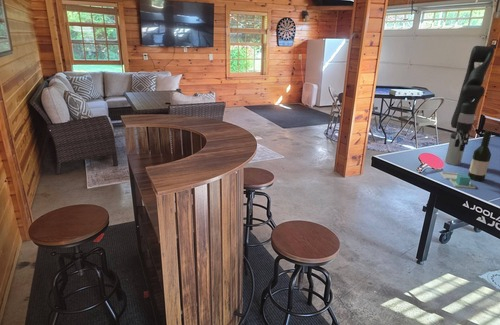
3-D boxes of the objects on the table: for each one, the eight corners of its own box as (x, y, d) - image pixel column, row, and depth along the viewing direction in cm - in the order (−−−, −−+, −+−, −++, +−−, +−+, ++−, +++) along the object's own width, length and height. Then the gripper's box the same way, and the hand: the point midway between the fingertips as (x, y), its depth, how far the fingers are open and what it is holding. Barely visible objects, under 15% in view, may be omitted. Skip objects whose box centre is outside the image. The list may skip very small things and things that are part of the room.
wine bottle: (477, 176, 198) (490, 128, 188) (487, 182, 191) (501, 132, 180) (464, 176, 198) (476, 128, 188) (473, 182, 190) (486, 132, 180)
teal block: (455, 182, 189) (457, 174, 187) (465, 183, 187) (467, 175, 186) (458, 185, 184) (460, 177, 182) (468, 186, 183) (470, 178, 181)
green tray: (449, 180, 192) (449, 178, 191) (468, 182, 189) (469, 180, 189) (454, 187, 182) (455, 185, 182) (474, 189, 180) (475, 187, 180)
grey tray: (440, 173, 202) (440, 171, 202) (458, 175, 200) (458, 173, 199) (445, 179, 193) (445, 177, 193) (463, 181, 191) (464, 179, 190)
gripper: (454, 118, 192) (447, 145, 198) (462, 123, 179) (455, 151, 185) (468, 119, 191) (461, 146, 196) (477, 124, 177) (470, 153, 183)
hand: (458, 148), depth 190 cm, fingers open, 8 cm apart
